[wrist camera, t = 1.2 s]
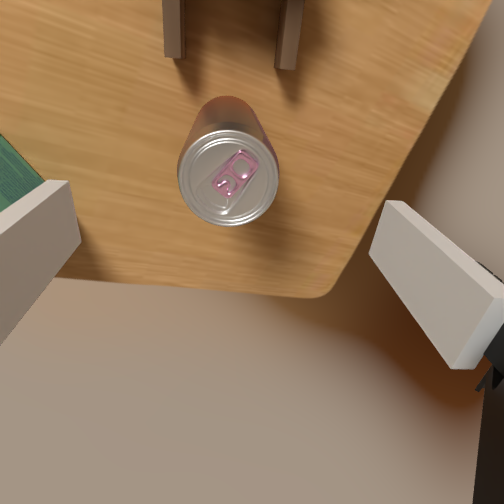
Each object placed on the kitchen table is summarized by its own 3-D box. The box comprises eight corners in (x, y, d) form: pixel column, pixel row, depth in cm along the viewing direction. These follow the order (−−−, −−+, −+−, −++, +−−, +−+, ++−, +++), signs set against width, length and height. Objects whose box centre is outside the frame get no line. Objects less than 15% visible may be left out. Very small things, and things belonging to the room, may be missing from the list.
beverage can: (271, 127, 31) (304, 177, 18) (230, 172, 33) (234, 247, 20) (223, 79, 28) (222, 99, 16) (182, 132, 30) (152, 187, 18)
